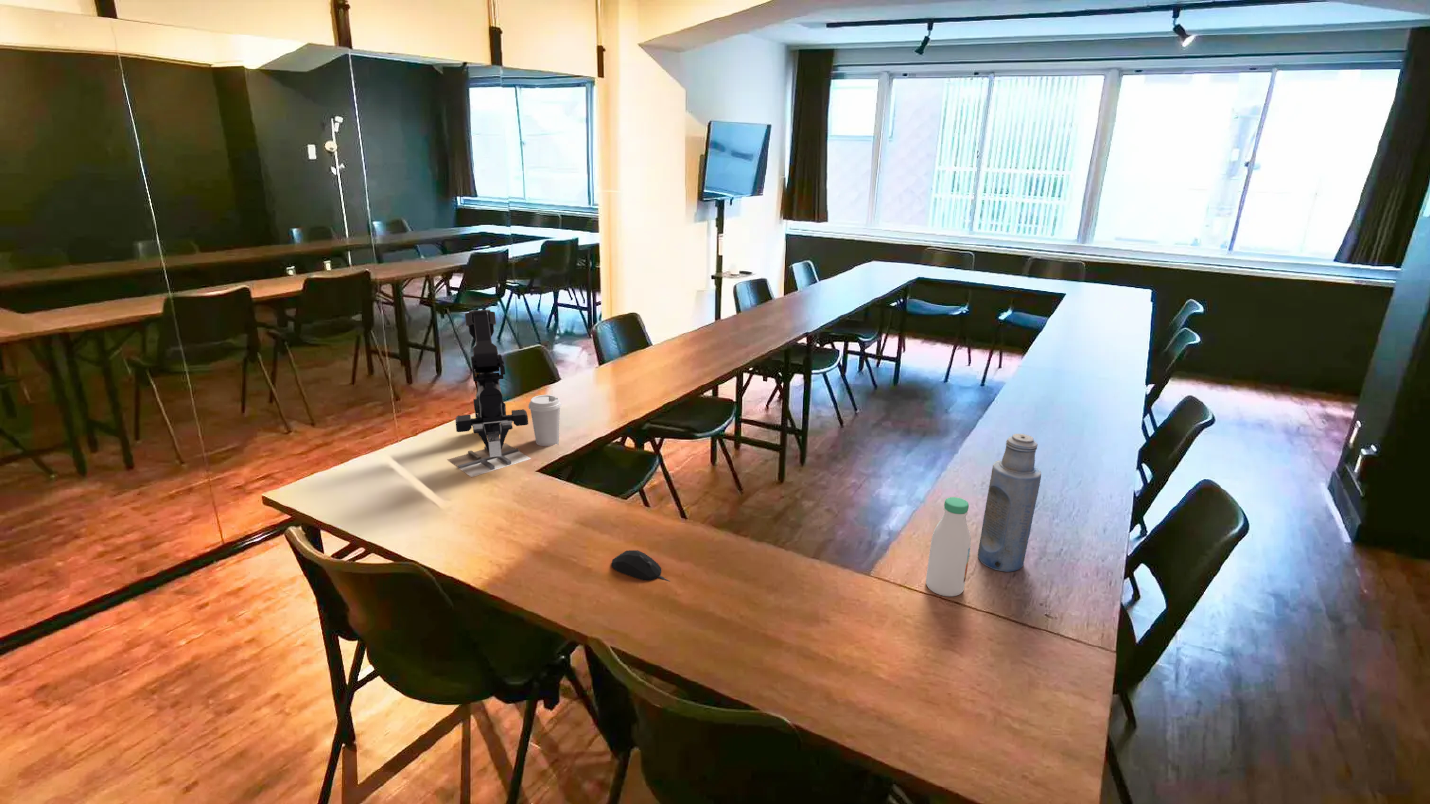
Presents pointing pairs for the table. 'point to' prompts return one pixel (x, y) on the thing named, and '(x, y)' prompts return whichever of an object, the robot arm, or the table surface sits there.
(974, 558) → the table surface
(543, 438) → the coffee cup
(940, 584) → the milk bottle
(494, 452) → the white rectangular block
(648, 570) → the gaming mouse
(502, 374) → the robot arm
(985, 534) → the bottle
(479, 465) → the ribbed grey tray
